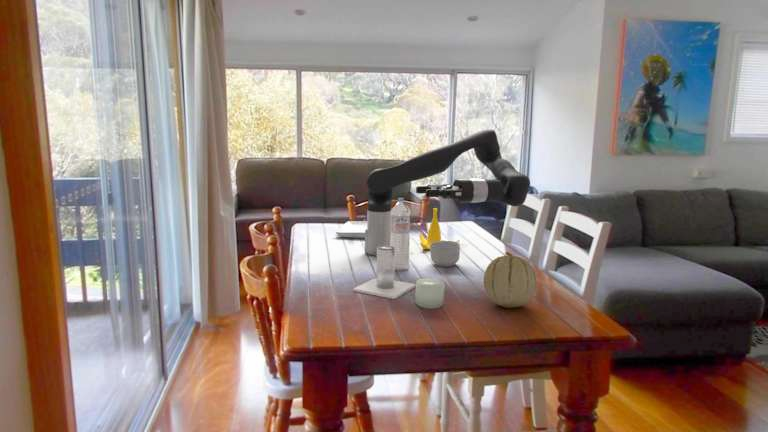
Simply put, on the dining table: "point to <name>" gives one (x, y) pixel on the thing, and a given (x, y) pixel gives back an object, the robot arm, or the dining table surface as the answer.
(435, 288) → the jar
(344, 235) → the square plate
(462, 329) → the dining table surface
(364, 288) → the tile
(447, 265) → the teacup
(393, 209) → the water bottle
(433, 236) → the banana peel
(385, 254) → the can
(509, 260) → the cantaloupe
